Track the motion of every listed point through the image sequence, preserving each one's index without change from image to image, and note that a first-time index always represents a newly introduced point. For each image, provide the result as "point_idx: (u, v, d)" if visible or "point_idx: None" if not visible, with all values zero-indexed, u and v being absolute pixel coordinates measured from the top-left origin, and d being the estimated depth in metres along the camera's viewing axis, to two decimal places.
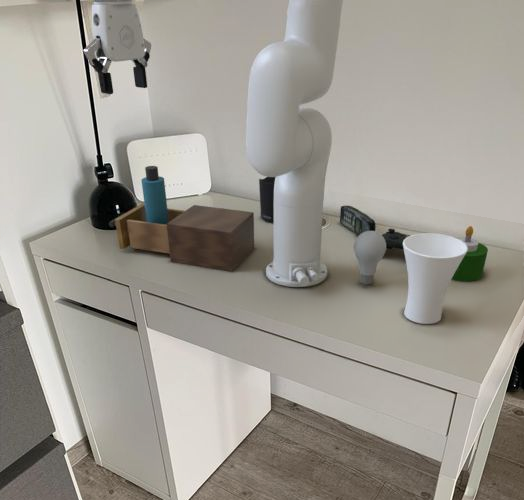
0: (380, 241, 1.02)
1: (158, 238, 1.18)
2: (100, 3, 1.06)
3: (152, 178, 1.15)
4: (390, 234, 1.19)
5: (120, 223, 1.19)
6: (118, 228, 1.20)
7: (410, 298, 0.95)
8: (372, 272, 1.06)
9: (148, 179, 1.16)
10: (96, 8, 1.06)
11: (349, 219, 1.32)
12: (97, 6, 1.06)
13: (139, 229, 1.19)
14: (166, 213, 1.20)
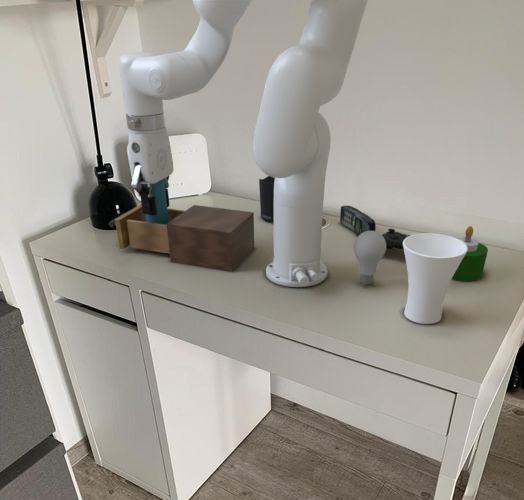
0: (380, 241, 1.02)
1: (158, 238, 1.18)
2: (139, 132, 1.08)
3: None
4: (390, 234, 1.19)
5: (120, 223, 1.19)
6: (118, 228, 1.20)
7: (410, 298, 0.95)
8: (372, 272, 1.06)
9: None
10: (136, 137, 1.08)
11: (349, 219, 1.32)
12: (138, 136, 1.08)
13: (139, 229, 1.19)
14: (166, 213, 1.20)
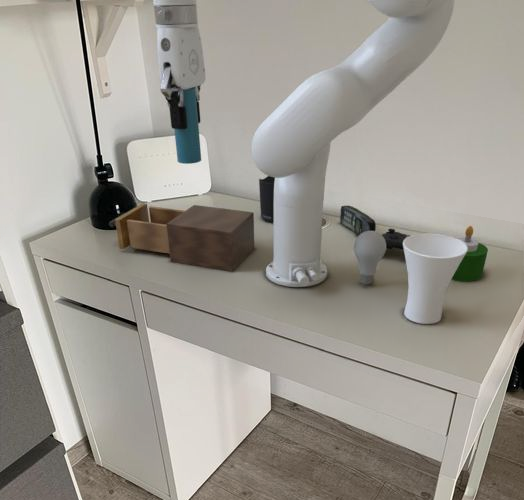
0: (380, 241, 1.02)
1: (158, 238, 1.18)
2: (169, 26, 0.95)
3: None
4: (390, 234, 1.19)
5: (120, 223, 1.19)
6: (118, 228, 1.20)
7: (410, 298, 0.95)
8: (372, 272, 1.06)
9: (178, 87, 1.03)
10: (166, 32, 0.95)
11: (349, 219, 1.32)
12: (168, 30, 0.95)
13: (139, 229, 1.19)
14: (197, 128, 1.07)
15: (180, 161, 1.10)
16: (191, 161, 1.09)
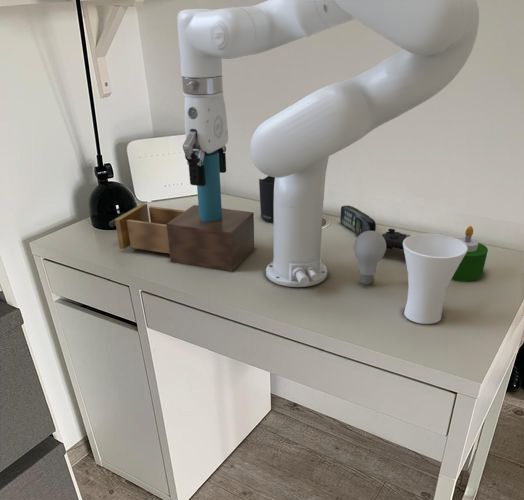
0: (380, 241, 1.02)
1: (158, 238, 1.18)
2: (197, 96, 1.00)
3: None
4: (390, 234, 1.19)
5: (120, 223, 1.19)
6: (118, 228, 1.20)
7: (410, 298, 0.95)
8: (372, 272, 1.06)
9: None
10: (193, 102, 1.00)
11: (349, 219, 1.32)
12: (196, 100, 1.00)
13: (139, 229, 1.19)
14: (219, 189, 1.12)
15: (202, 219, 1.15)
16: (213, 219, 1.14)
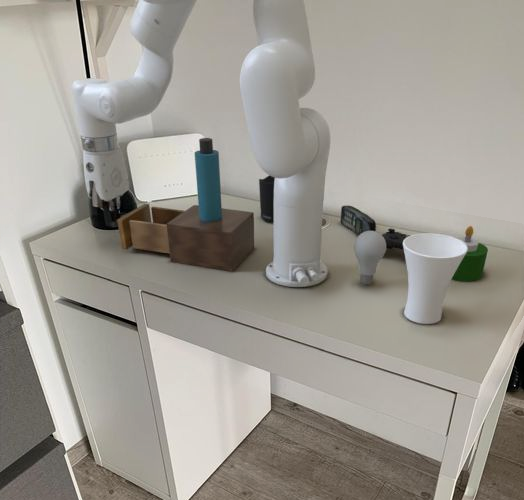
0: (380, 241, 1.02)
1: (160, 238, 1.18)
2: (93, 153, 1.14)
3: (206, 150, 1.08)
4: (390, 234, 1.19)
5: (122, 223, 1.19)
6: (120, 228, 1.20)
7: (410, 298, 0.95)
8: (372, 272, 1.06)
9: (202, 152, 1.08)
10: (89, 158, 1.14)
11: (349, 219, 1.32)
12: (91, 157, 1.14)
13: (141, 229, 1.18)
14: (219, 189, 1.12)
15: (202, 219, 1.15)
16: (213, 219, 1.14)
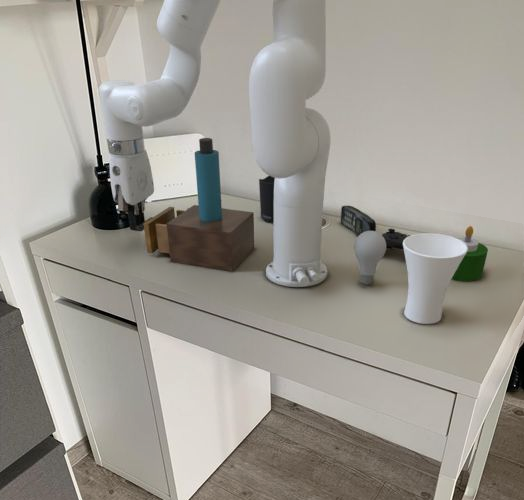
0: (380, 241, 1.02)
1: None
2: (119, 156, 1.12)
3: (206, 150, 1.08)
4: (390, 234, 1.19)
5: (148, 227, 1.17)
6: (146, 232, 1.18)
7: (410, 298, 0.95)
8: (372, 272, 1.06)
9: (202, 152, 1.08)
10: (116, 161, 1.12)
11: (349, 219, 1.32)
12: (118, 160, 1.12)
13: None
14: (219, 189, 1.12)
15: (202, 219, 1.15)
16: (213, 219, 1.14)
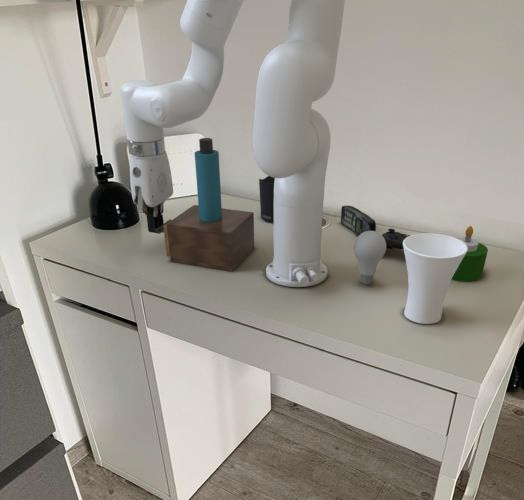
0: (380, 241, 1.02)
1: None
2: (140, 158, 1.11)
3: (206, 150, 1.08)
4: (390, 234, 1.19)
5: None
6: (166, 235, 1.16)
7: (410, 298, 0.95)
8: (372, 272, 1.06)
9: (202, 152, 1.08)
10: (137, 163, 1.11)
11: (349, 219, 1.32)
12: (139, 161, 1.10)
13: None
14: (219, 189, 1.12)
15: (202, 219, 1.15)
16: (213, 219, 1.14)
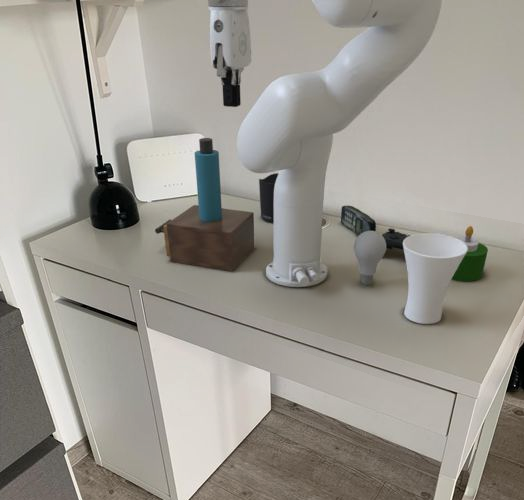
0: (380, 241, 1.02)
1: None
2: (223, 8, 1.00)
3: (206, 150, 1.08)
4: (390, 234, 1.19)
5: None
6: (166, 235, 1.16)
7: (410, 298, 0.95)
8: (372, 272, 1.06)
9: (202, 152, 1.08)
10: (219, 14, 1.00)
11: (349, 219, 1.32)
12: (222, 12, 1.00)
13: None
14: (219, 189, 1.12)
15: (202, 219, 1.15)
16: (213, 219, 1.14)
